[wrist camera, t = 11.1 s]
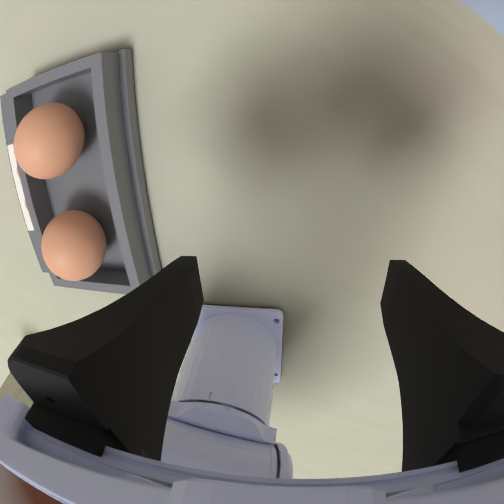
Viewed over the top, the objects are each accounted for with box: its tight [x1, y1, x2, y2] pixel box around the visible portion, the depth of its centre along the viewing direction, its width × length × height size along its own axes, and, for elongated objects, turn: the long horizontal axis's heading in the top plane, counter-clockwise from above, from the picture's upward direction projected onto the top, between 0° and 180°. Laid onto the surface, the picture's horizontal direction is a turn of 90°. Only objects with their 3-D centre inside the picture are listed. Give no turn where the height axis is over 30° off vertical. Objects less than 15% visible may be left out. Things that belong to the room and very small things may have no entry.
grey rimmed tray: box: [0, 49, 162, 294], centre depth 19 cm, size 17×13×3 cm
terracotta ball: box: [14, 102, 85, 179], centre depth 16 cm, size 5×5×5 cm
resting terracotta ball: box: [41, 210, 106, 281], centre depth 19 cm, size 5×5×5 cm
